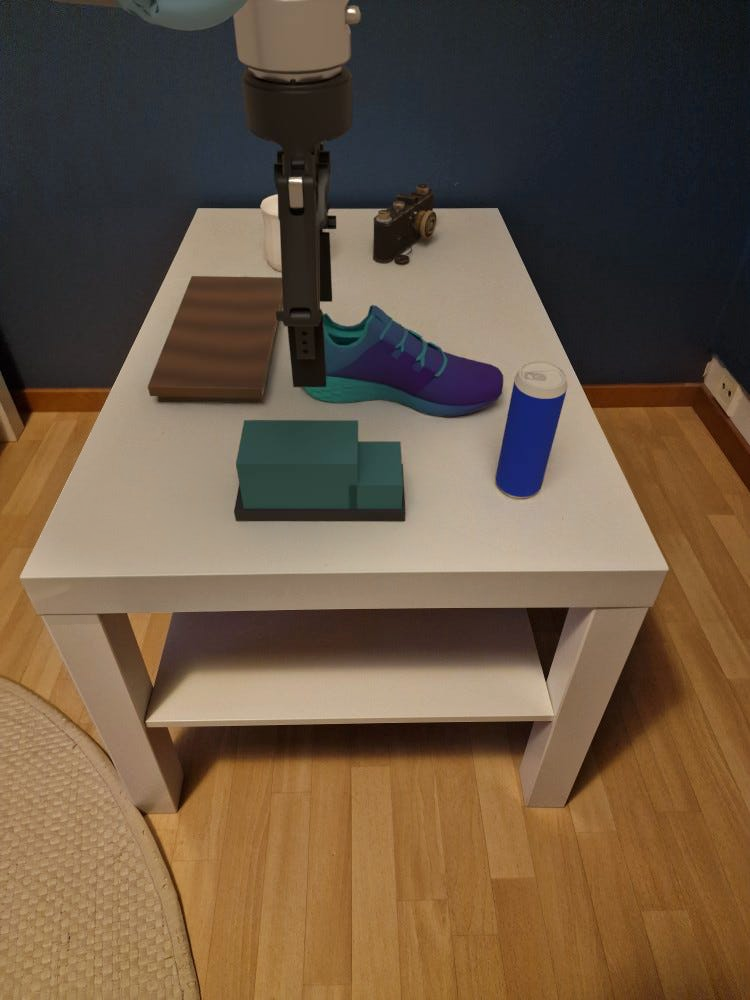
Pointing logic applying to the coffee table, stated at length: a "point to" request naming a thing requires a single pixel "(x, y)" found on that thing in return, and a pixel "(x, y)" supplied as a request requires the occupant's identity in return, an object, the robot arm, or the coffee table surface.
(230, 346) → the brown wooden board
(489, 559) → the coffee table surface
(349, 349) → the sneaker
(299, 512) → the teal stepped block
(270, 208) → the cup
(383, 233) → the camera
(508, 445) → the beverage can
